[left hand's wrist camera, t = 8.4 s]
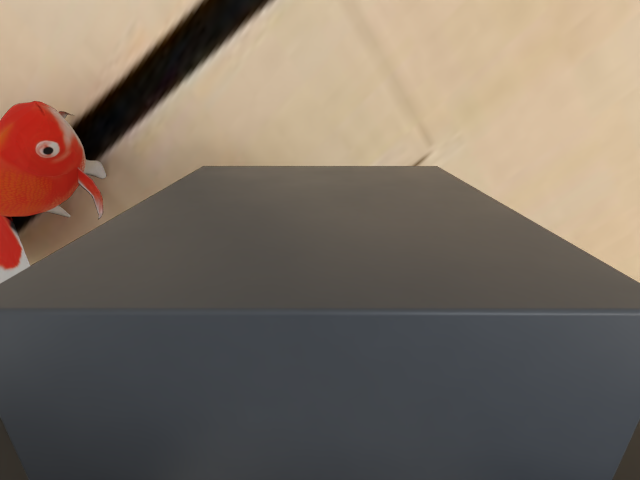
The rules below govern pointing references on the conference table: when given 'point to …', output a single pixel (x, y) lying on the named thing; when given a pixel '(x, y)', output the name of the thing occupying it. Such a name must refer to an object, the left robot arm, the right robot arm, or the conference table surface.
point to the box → (320, 337)
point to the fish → (38, 173)
